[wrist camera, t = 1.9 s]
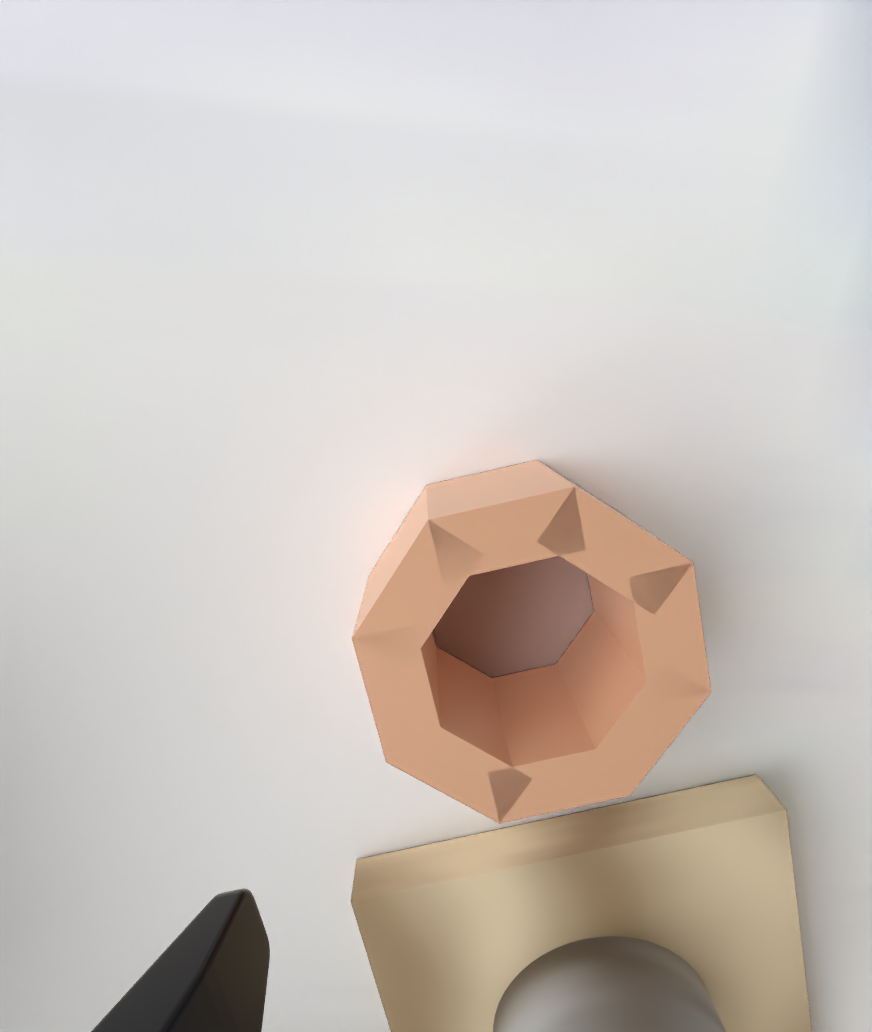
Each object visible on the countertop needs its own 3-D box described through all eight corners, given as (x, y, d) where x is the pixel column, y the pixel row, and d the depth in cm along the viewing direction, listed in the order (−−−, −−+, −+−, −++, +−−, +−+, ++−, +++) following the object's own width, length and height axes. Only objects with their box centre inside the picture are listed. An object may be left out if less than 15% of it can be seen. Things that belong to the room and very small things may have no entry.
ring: (411, 738, 17) (408, 842, 14) (348, 502, 16) (325, 543, 12) (654, 685, 17) (723, 775, 13) (615, 441, 16) (679, 462, 12)
